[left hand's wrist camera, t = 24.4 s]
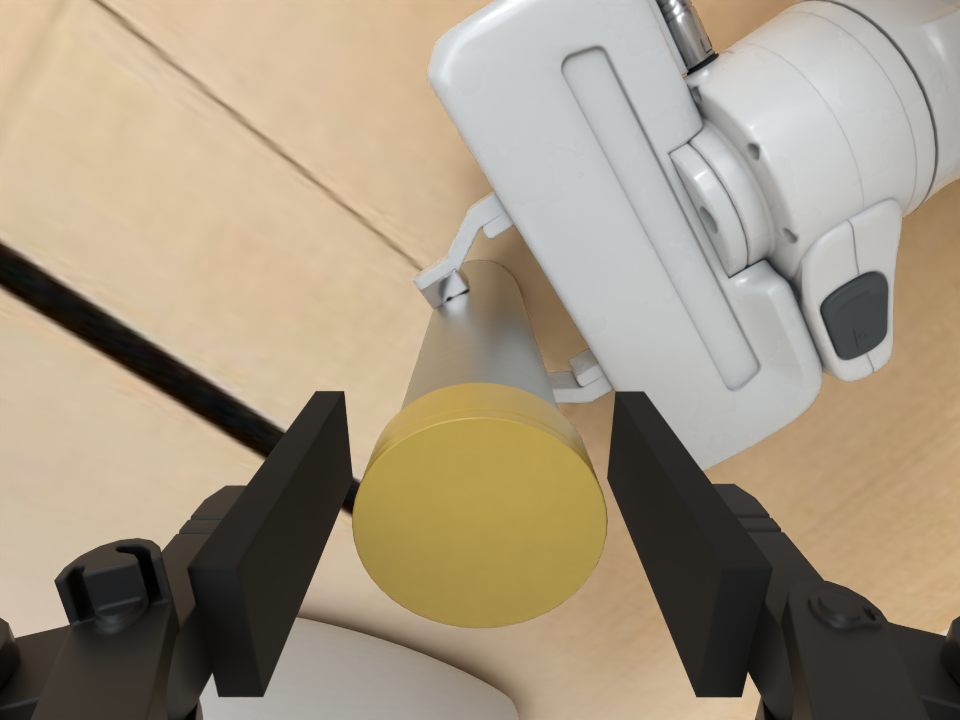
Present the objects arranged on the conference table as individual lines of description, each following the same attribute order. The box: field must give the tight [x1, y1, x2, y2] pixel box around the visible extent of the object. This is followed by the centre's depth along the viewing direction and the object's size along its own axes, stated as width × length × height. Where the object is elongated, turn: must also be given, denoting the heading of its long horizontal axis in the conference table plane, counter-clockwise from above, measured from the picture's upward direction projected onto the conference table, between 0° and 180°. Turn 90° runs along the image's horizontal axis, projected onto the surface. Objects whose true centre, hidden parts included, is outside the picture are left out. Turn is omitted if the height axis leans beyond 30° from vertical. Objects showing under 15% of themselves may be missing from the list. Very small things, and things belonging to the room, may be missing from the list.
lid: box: [352, 383, 608, 628], centre depth 11 cm, size 5×5×2 cm
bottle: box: [401, 260, 559, 411], centre depth 20 cm, size 4×4×19 cm
